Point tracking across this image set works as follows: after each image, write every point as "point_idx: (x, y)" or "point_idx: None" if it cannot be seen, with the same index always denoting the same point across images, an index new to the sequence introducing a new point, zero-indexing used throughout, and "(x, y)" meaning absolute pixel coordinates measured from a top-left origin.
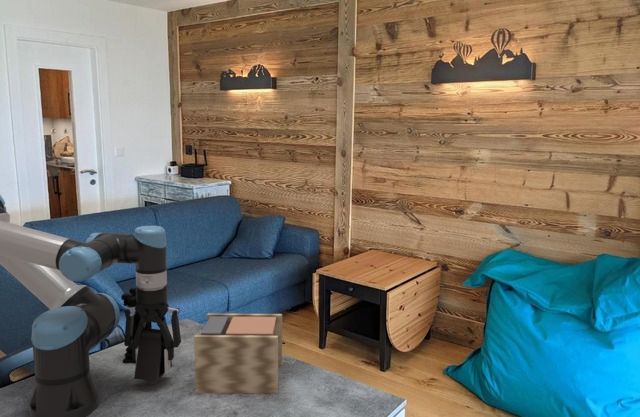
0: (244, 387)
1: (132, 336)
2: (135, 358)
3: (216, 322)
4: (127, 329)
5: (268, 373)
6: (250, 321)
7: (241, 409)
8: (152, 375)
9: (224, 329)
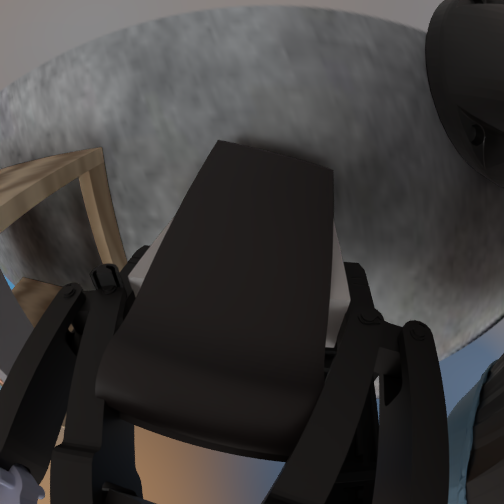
0: (6, 170)
1: (367, 405)
2: (345, 266)
3: (2, 376)
4: (432, 445)
5: None
6: None
7: (6, 95)
8: (230, 157)
9: None
